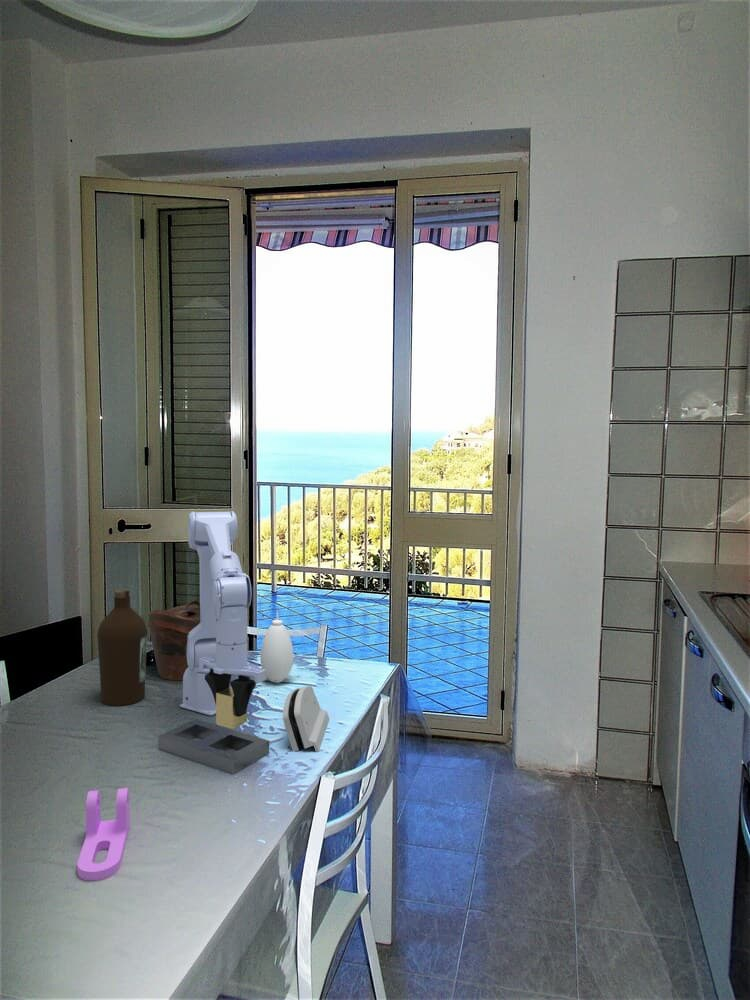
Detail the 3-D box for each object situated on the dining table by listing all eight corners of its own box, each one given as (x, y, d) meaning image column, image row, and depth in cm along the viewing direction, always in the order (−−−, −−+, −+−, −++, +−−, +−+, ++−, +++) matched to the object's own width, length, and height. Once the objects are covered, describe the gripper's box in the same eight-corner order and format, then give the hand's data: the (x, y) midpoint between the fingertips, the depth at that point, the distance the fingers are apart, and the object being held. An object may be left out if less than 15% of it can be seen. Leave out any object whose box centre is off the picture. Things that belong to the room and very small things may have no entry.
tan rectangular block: (230, 717, 133) (230, 686, 133) (246, 721, 131) (247, 690, 131) (216, 724, 130) (216, 692, 129) (232, 728, 128) (232, 697, 127)
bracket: (91, 830, 106) (90, 786, 105) (129, 827, 107) (129, 783, 107) (73, 883, 93) (72, 834, 93) (117, 878, 94) (117, 829, 94)
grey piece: (318, 752, 134) (301, 704, 133) (295, 759, 134) (278, 711, 133) (329, 718, 150) (314, 675, 150) (309, 724, 151) (293, 681, 150)
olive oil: (96, 709, 153) (94, 596, 150) (99, 692, 163) (98, 586, 161) (147, 704, 156) (146, 594, 154) (147, 688, 166) (147, 584, 164)
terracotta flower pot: (221, 657, 190) (220, 593, 188) (221, 683, 171) (220, 611, 169) (153, 661, 186) (151, 595, 185) (145, 688, 167) (143, 615, 165)
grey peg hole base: (158, 748, 134) (158, 736, 134) (196, 730, 142) (195, 718, 142) (233, 774, 124) (233, 760, 124) (269, 753, 133) (269, 740, 133)
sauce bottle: (254, 681, 172) (254, 610, 170) (278, 674, 178) (278, 604, 176) (275, 689, 167) (275, 615, 165) (299, 681, 173) (300, 610, 171)
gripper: (187, 639, 129) (187, 710, 131) (247, 652, 122) (247, 728, 123) (214, 631, 136) (214, 699, 137) (273, 643, 128) (272, 715, 129)
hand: (231, 712), depth 130 cm, fingers closed on tan rectangular block, 4 cm apart
